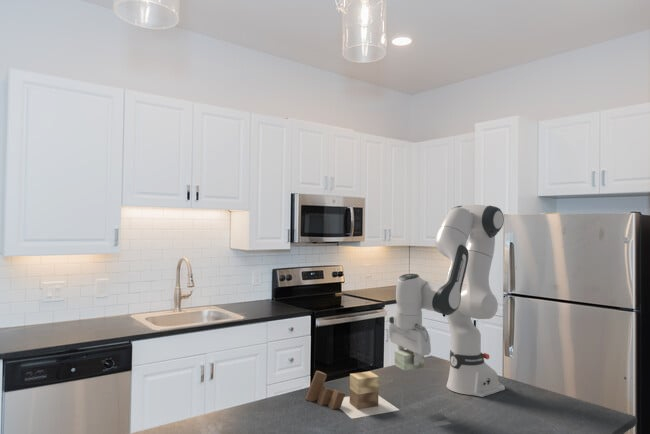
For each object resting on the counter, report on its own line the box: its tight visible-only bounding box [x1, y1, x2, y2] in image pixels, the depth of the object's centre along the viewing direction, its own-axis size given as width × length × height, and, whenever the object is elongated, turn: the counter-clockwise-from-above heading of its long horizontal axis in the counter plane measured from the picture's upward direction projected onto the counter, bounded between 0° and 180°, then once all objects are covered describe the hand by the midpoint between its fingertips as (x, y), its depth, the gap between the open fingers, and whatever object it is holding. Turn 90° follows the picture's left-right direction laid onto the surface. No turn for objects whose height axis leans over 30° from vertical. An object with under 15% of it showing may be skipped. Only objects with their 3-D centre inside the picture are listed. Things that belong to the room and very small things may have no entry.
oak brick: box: [349, 370, 380, 394], centre depth 154 cm, size 8×6×5 cm
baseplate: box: [339, 395, 400, 420], centre depth 154 cm, size 18×17×1 cm
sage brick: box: [394, 348, 425, 371], centre depth 154 cm, size 8×6×5 cm
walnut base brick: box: [349, 388, 380, 410], centre depth 154 cm, size 8×6×5 cm
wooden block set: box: [305, 370, 346, 410], centre depth 158 cm, size 18×9×10 cm, turn 30°
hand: (409, 361), depth 154 cm, fingers closed on sage brick, 6 cm apart
